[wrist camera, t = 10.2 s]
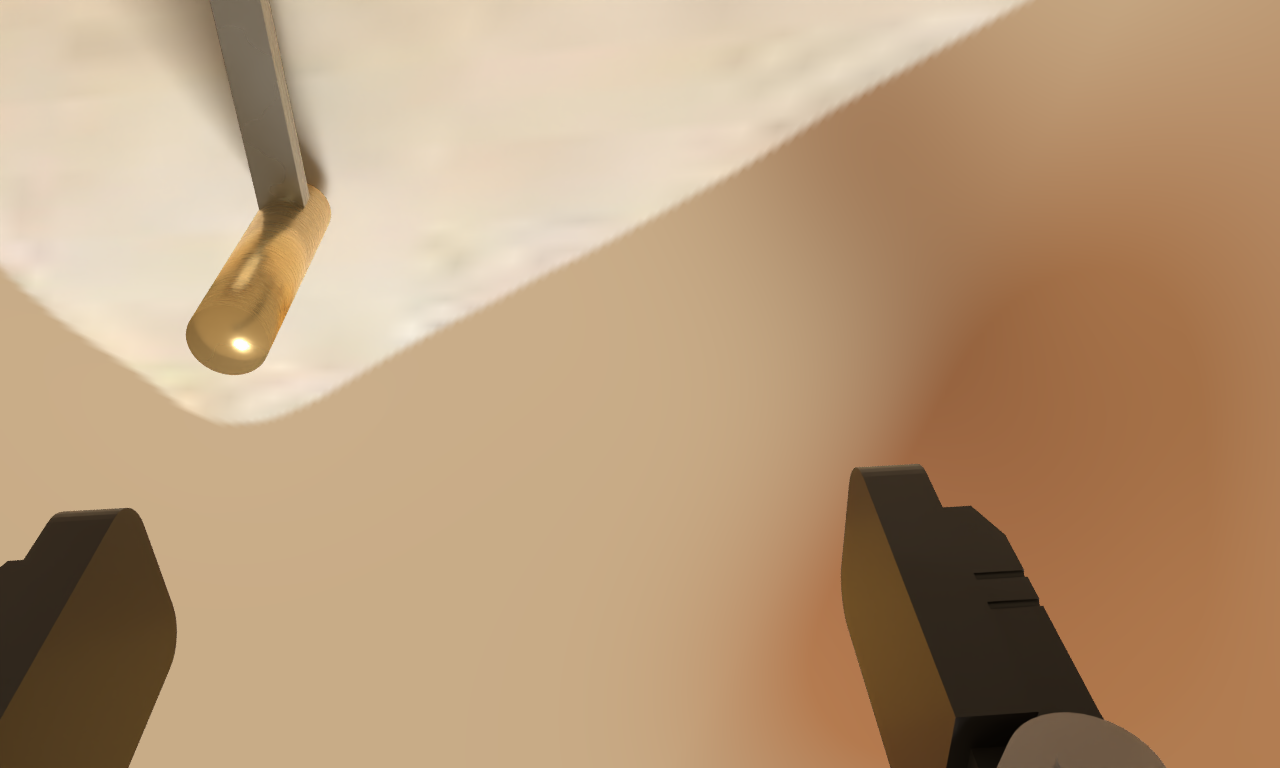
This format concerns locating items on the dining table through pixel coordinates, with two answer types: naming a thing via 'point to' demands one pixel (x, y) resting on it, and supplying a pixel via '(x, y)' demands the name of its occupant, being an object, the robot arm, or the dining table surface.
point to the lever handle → (259, 202)
